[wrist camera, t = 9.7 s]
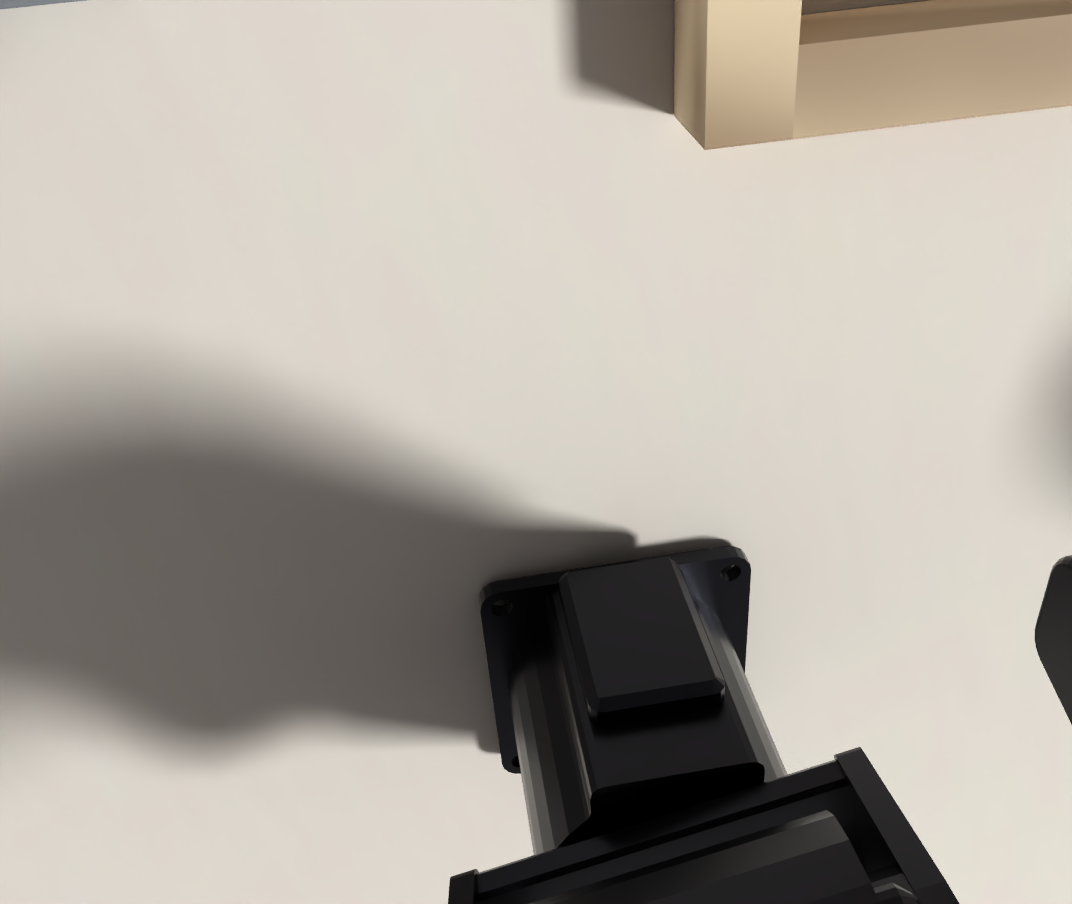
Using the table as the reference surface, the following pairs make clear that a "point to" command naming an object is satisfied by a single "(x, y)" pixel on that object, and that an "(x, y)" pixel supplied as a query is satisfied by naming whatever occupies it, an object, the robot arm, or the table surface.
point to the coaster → (29, 3)
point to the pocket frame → (863, 65)
